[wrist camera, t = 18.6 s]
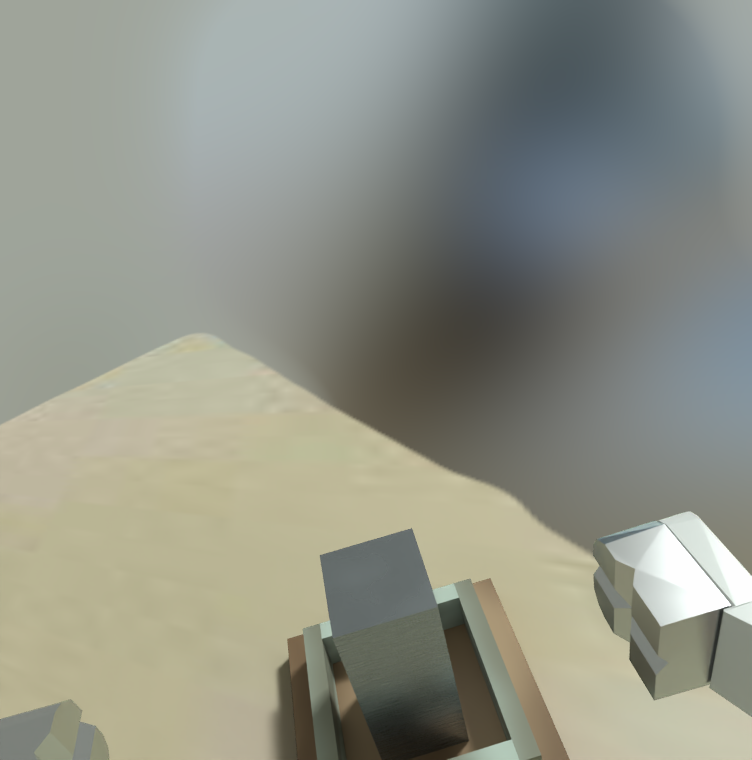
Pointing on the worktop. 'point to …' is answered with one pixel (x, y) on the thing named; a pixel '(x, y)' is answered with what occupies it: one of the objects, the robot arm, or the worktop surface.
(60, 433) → the worktop surface
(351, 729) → the stand
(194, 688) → the worktop surface
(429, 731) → the graphite post
